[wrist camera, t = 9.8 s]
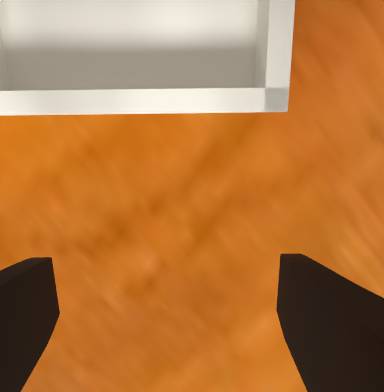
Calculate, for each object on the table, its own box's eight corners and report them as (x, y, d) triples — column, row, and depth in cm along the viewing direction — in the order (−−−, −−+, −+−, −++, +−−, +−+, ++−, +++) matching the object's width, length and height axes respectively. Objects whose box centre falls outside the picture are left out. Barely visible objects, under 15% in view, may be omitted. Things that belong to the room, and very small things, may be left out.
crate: (10, 112, 18) (-39, 116, 14) (-22, -79, 15) (-92, -139, 11) (266, 108, 18) (287, 111, 14) (276, -82, 15) (305, -142, 12)
